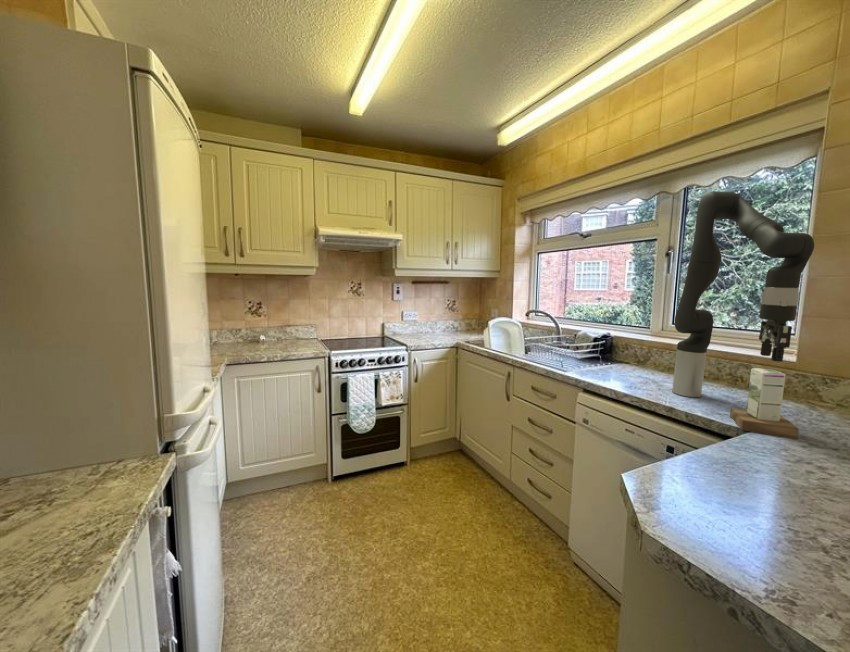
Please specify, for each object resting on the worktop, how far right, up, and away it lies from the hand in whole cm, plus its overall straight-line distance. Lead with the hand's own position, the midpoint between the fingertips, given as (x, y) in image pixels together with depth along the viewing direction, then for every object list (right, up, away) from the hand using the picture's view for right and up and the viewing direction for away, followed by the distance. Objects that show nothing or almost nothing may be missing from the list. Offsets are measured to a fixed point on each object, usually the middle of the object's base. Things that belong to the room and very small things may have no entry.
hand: (770, 358), depth 105 cm
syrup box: (0, -18, +2) cm, 18 cm away
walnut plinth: (0, -21, +3) cm, 21 cm away
